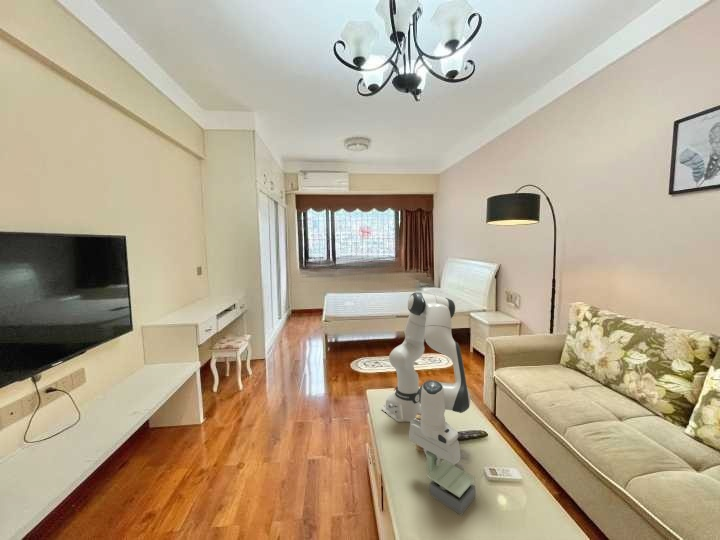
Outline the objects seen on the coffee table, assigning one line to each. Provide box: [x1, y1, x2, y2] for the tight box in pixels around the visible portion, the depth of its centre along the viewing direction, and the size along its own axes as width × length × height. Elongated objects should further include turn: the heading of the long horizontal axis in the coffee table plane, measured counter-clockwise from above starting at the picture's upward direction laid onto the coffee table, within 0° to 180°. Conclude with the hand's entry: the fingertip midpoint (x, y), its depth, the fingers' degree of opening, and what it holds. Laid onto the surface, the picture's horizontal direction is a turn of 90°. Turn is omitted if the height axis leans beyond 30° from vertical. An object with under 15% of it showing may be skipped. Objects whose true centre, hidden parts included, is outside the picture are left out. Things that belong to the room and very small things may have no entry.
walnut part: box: [447, 490, 459, 499], centre depth 110 cm, size 4×4×3 cm
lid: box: [426, 452, 476, 498], centre depth 109 cm, size 15×11×6 cm
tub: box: [429, 480, 476, 516], centre depth 109 cm, size 12×10×5 cm
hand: (433, 462), depth 114 cm, fingers closed on lid
